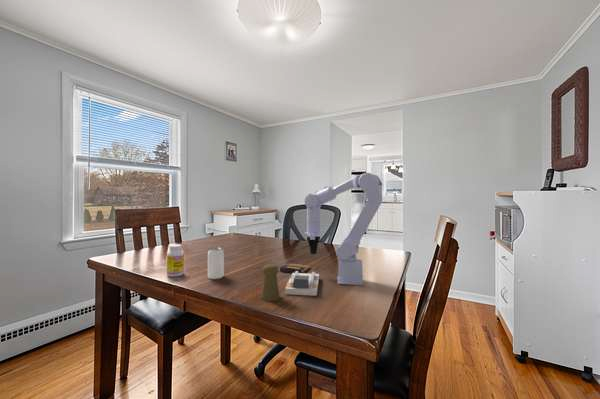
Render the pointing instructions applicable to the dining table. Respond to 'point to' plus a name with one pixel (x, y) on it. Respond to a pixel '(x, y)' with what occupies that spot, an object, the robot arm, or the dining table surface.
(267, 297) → the green chess rook
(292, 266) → the ammunition clip
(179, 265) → the supplement bottle
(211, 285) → the dining table surface
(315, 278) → the switch board
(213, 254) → the can
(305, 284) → the switch tab
